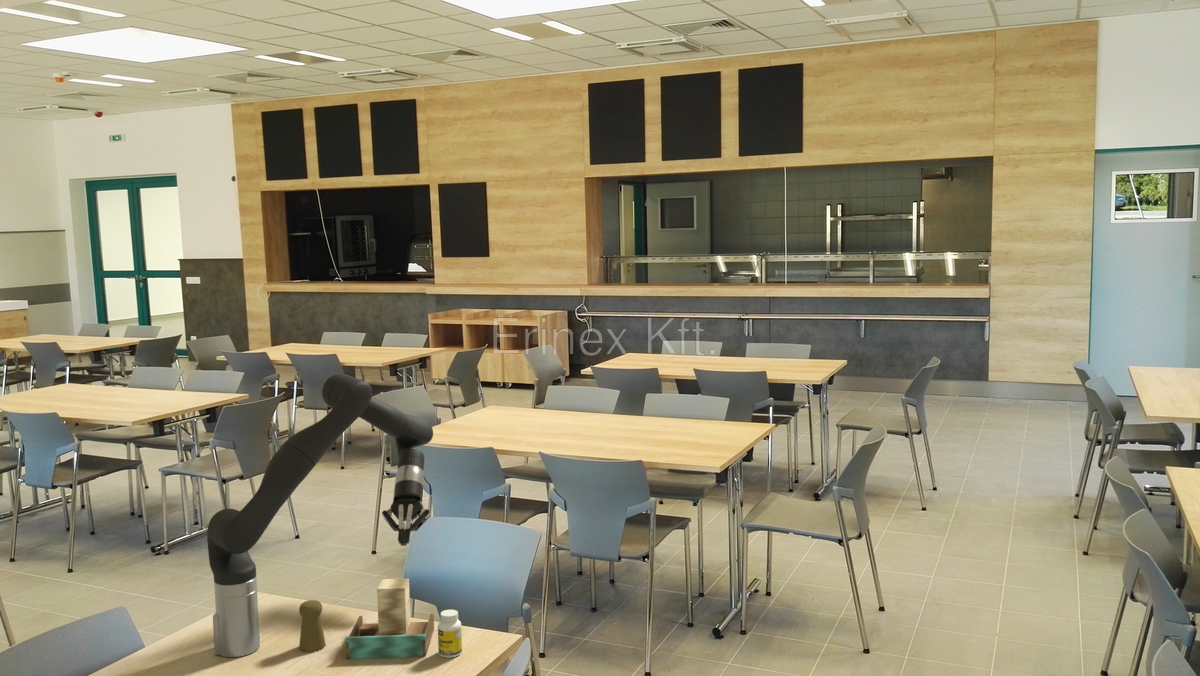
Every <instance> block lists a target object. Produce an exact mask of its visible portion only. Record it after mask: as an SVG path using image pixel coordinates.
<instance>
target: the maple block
mask: <svg viewBox="0 0 1200 676" xmlns="http://www.w3.org/2000/svg"><path fill="white" fill-rule="evenodd" d="M376 595H377V619H378V620H377V621H378V622H377V623H378V625H379V634H384V633H406V632H407V630H408V627H409V624H410V622H411V598H410V578H386V579H385V578H384V579H383V578H382V579H381V580H380V582H379V584H378V586H377V589H376Z"/></svg>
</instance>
